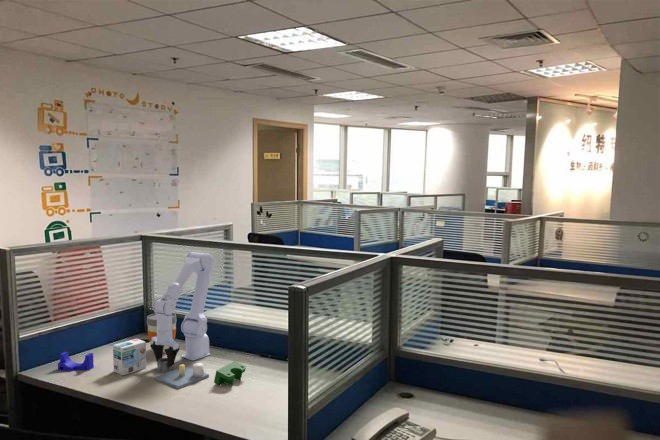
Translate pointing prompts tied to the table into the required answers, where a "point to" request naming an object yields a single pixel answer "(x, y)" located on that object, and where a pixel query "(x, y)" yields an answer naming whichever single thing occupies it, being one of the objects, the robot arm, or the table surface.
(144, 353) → the light bulb box
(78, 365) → the cable clip
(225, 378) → the clamp
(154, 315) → the reusable coffee cup
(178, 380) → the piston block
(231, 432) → the table surface
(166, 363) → the ring
